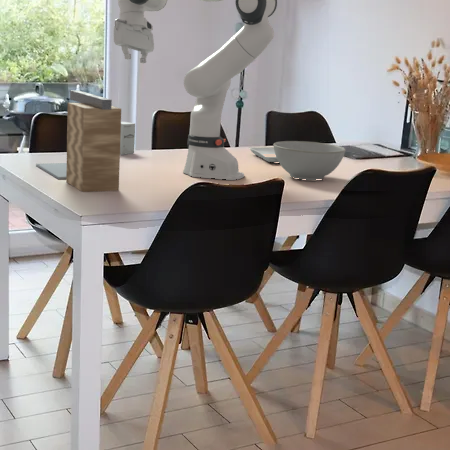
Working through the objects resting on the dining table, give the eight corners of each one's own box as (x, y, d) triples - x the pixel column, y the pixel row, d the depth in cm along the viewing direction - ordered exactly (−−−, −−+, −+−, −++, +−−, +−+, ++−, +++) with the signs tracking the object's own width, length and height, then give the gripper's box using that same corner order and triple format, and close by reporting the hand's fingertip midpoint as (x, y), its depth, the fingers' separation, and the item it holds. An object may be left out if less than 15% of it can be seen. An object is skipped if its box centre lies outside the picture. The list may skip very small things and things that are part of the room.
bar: (70, 99, 265) (70, 90, 264) (78, 99, 266) (78, 90, 266) (102, 109, 240) (102, 99, 239) (111, 109, 241) (111, 99, 241)
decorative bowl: (350, 177, 304) (353, 146, 301) (330, 188, 280) (334, 154, 277) (285, 169, 314) (287, 138, 311) (260, 178, 290) (262, 145, 287)
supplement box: (122, 155, 322) (123, 124, 319) (109, 152, 326) (110, 122, 323) (134, 153, 327) (135, 123, 324) (121, 151, 332) (122, 121, 329)
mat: (36, 165, 285) (36, 163, 285) (73, 164, 292) (73, 162, 292) (58, 179, 263) (58, 177, 263) (98, 178, 270) (98, 175, 270)
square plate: (327, 167, 329) (328, 157, 328) (265, 165, 322) (266, 156, 321) (305, 156, 354) (306, 147, 353) (247, 154, 347) (247, 146, 346)
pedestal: (66, 182, 260) (67, 102, 254) (100, 180, 266) (103, 103, 259) (82, 191, 246) (84, 108, 240) (118, 190, 252) (121, 108, 246)
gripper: (122, 15, 275) (125, 54, 275) (155, 26, 293) (158, 63, 293) (107, 19, 278) (111, 58, 278) (141, 30, 296) (144, 66, 296)
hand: (135, 61), depth 286 cm, fingers open, 8 cm apart
